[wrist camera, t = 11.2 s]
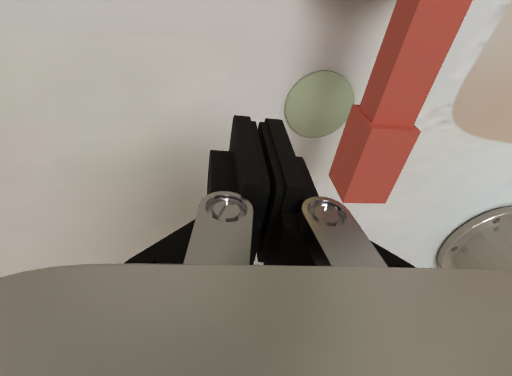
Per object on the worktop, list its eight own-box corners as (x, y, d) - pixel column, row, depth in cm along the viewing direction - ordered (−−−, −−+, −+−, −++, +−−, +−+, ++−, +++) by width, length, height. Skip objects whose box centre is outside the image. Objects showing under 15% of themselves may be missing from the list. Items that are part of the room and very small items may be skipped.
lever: (467, -269, 11) (531, -311, 9) (554, -239, 12) (632, -272, 10) (322, 174, 22) (336, 202, 20) (372, 176, 23) (390, 203, 21)
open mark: (362, 74, 27) (364, 76, 26) (340, 137, 30) (341, 139, 30) (293, 66, 25) (294, 68, 25) (278, 132, 29) (279, 135, 29)
